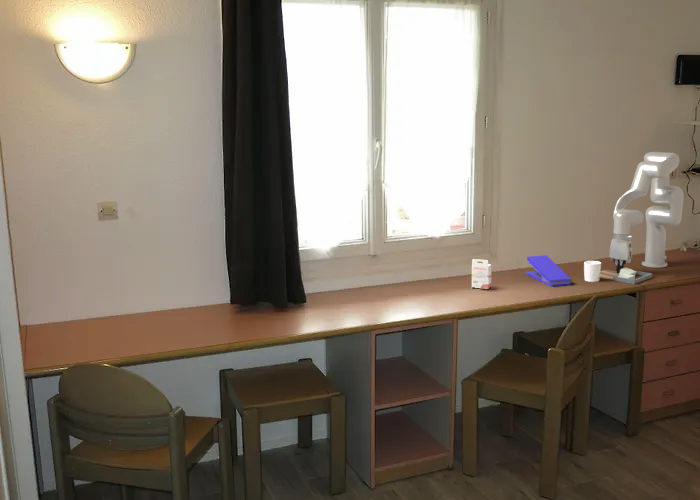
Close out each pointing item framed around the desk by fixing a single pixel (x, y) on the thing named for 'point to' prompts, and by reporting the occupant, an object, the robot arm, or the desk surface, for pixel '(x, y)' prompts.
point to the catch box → (645, 277)
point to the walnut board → (608, 274)
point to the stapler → (547, 271)
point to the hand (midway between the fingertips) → (619, 272)
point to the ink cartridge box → (481, 274)
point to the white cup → (592, 271)
